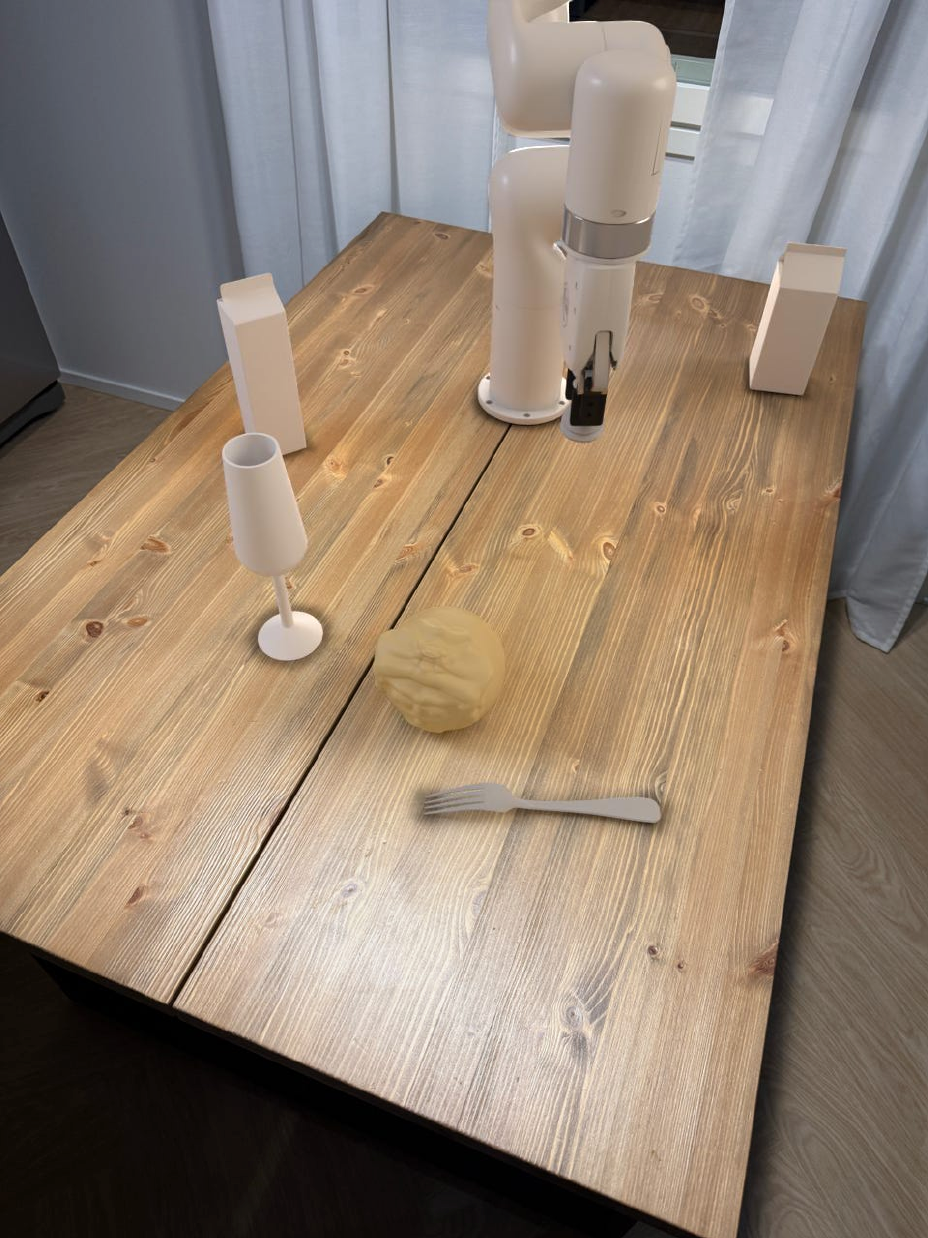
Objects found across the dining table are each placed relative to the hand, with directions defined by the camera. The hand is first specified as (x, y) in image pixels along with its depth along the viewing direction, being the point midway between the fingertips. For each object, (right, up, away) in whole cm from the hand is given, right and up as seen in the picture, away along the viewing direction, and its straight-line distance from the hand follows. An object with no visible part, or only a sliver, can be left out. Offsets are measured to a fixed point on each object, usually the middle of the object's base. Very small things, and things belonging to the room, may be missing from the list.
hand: (583, 409), depth 88 cm
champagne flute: (-30, -22, +5) cm, 38 cm away
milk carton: (+31, +13, +36) cm, 49 cm away
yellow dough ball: (-14, -29, 0) cm, 32 cm away
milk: (-36, +2, +26) cm, 44 cm away
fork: (-5, -38, -8) cm, 39 cm away
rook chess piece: (0, -2, +2) cm, 3 cm away
